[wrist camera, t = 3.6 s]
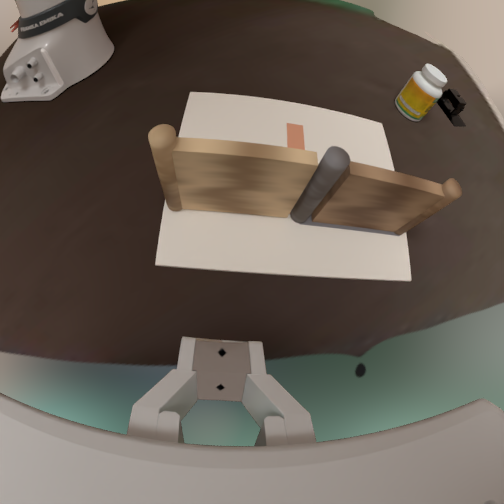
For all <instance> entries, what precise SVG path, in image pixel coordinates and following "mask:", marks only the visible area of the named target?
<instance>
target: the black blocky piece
mask: <svg viewBox="0 0 504 504" xmlns="http://www.w3.org/2000/svg"><path fill="white" fill-rule="evenodd" d="M448 99H449V100H450V102H451V103H452V105H451V104H450V102H449V101H448ZM437 103H438V105H439V106H440V107H441V109H442V110H443V111H444V113H445V114H446V116H447V117H448V118H449V120H450V121H451V123H452V124H453V125H454V126H466V125H465V124H464V122H463V121H462V119H461V118H460V117H459V115H458V114H459V113H460V112H461V111H463V109H464V108H465V107H464V106H465V105H466V102H465V101H464V100H463V99H462V98H460V95H459V93H458V92H457V91H456V90H453V89H448V90H446V91H445V92H443V94H442V95H441V97H440V98H439V99H438V101H437ZM453 107H454V108H455V109H454V108H453Z"/></svg>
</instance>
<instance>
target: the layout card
mask: <svg viewBox="0 0 504 504" xmlns="http://www.w3.org/2000/svg"><path fill="white" fill-rule="evenodd" d="M179 137H183V138H202V139H216V140H229V141H239V142H249V143H258V144H266V145H274V146H281V147H288V148H295V149H301V150H307V151H313V152H317V158H318V164H319V163H320V161H321V159H322V158H323V156H324V154H325V153H326V151H327V149H328V148H329V147H331V146H337V147H340V148H342V149H344V150H345V151H346V152H347V153H348V155H349V157H350V161H352V162H357V163H362V164H366V165H371V166H375V167H379V168H383V169H387V170H391V171H394V167H393V163H392V158H391V155H390V151H389V147H388V143H387V140H386V136H385V132H384V129H383V126H382V123H378V122H375V121H371V120H368V119H364V118H361V117H357V116H353V115H349V114H345V113H341V112H337V111H333V110H328V109H324V108H319V107H314V106H309V105H304V104H299V103H293V102H287V101H281V100H274V99H267V98H260V97H251V96H242V95H232V94H220V93H204V92H190V95H189V98H188V102H187V105H186V109H185V113H184V117H183V121H182V124H181V128H180V133H179ZM155 265H156V266H166V267H177V268H190V269H202V270H215V271H229V272H242V273H257V274H272V275H288V276H304V277H322V278H340V279H360V280H383V281H407V282H409V281H411V270H410V260H409V251H408V243H407V236H406V232H405V233H403V234H402V235H397V234H395V233H394V232H390V231H383V230H375V229H368V228H360V227H352V226H344V225H336V224H327V223H319V222H312V214H311V215H310V216H309V218H308V219H307V220H306V221H305V222H304V223H296V222H294V221H293V220H292V218H291V216H290V214H289V215H288V217H287V218H283V217H273V216H263V215H252V214H241V213H229V212H217V211H204V210H191V209H182V210H180V211H172V210H170V209H169V208H168V206H167V203H166V200H165V204H164V209H163V215H162V221H161V227H160V234H159V241H158V248H157V255H156V263H155Z"/></svg>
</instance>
